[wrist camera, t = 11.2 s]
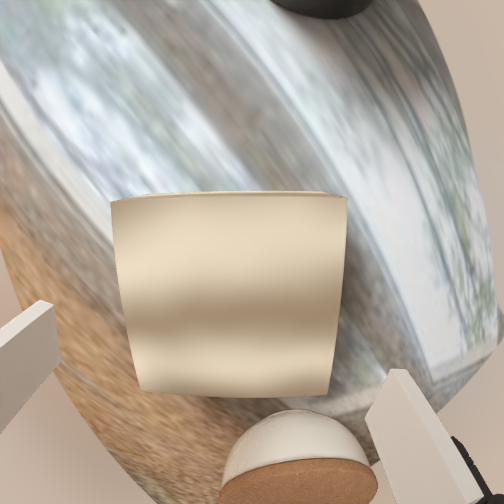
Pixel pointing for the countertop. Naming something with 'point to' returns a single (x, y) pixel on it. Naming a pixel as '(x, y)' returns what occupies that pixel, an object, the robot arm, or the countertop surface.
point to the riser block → (231, 290)
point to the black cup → (325, 7)
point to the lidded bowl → (297, 463)
